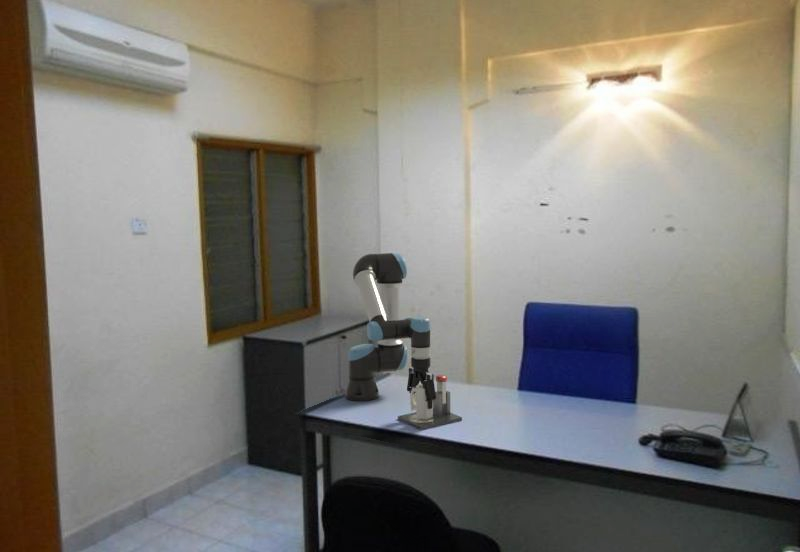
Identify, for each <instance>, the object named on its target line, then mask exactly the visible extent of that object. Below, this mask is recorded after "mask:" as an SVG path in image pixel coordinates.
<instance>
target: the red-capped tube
mask: <svg viewBox="0 0 800 552" xmlns="http://www.w3.org/2000/svg"><path fill="white" fill-rule="evenodd" d="M447 381H448V376H447V375H445V374H444V375H443V374H440V375H436V376H435V382H436V392H438V393H441V394H442V404H444V403H446V391H447Z"/></svg>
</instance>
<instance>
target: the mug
mask: <svg viewBox="0 0 800 552" xmlns="http://www.w3.org/2000/svg"><path fill="white" fill-rule="evenodd" d="M414 392H416V404H415V402H414V400H413V393H414ZM409 394H410V393H409ZM410 399H411V400H410V404H411V403H412V406H413V407H414V408H416V409H417V410H416V412H417V417H418V418H421V419H428V418H431V417H432V416H433V407H432V416H430V417H425V400H426V396H425V389H423V385H422V384H421V383H420V384H419V385H417V386H416V388H414V387H412V391H411V394H410ZM432 406H433V401H432Z"/></svg>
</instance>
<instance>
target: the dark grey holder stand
mask: <svg viewBox="0 0 800 552" xmlns="http://www.w3.org/2000/svg"><path fill="white" fill-rule="evenodd" d="M435 393H436V399H435V400H433V416H432V417H431V418H428V419H421V418H418V417H417V411H415V412H411V413H406V414H401V415H398V416H397V420H399V421H401V422H403V423H405V424H407V425H409V426H411V427H413V428H415V429H417V430H419V431H423V430H428V429H431V428H436V427H441V426H444V425H449V424H452V423H453V424H454V423H456V422H460V421H463V417H461V416H459V415H458V414H455V413H453V412H451V392H450V391H448V390H446V403H444V404H442V394H441V393H438V392H437V391H435Z"/></svg>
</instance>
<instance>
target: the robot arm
mask: <svg viewBox="0 0 800 552" xmlns="http://www.w3.org/2000/svg"><path fill="white" fill-rule="evenodd" d="M407 268H408V267H407V264H406V261H405V258H404V256H403V255H402V254H401V253H393V252H388V253H368V254H365V255H363V256H361V257H360V258H359V259H358V260H357V261H356V263H355V265H354V267H353V271H352V277H353V281H354V284H355V285H356V286H358V290H359V293H360V296H361V299H362V301H363V306H364V308H365V309H364V310H365V312H366V315H367V318H368V321H369V322H367V324H366V336H367V338H368V340H370V341H377V346H375V345H374V344H373V343H362V344H358V345H357V344H356V345H354V346H352V347H351V348H350V349H348V358H347V360H348V383H347V385H346V389H345V398H346V400H349V401H355V402H366V401H373V400H375V399H377V398H379V396H380V395H379V394H380V391H379V388H378V386H377V382H376V378H375V376H376V375H375V373H385V372H386V373H387V372H388V373H389V372H397V371H401V370H404V368H406V366H407V362H408V355H409V353H408V348H407V346H406V345H405V344H404V341H403V340H402V339H410V350H411V354H410V355H411V359H410V363H411V366H410V368H408V380H407V386H406V391H407V392H409V393H408V394H411V391H412V387H414V388H416V386H417V385H421V384H422V385H423V389H425V396H426V400H425V417H430V416H432V407H433V406H432V401H433V400H435V399H436V393H435V392H436V388H435V382H434V380H435V379H434V376H435V375H434V373H430V372H429V368H430V367H431V320H430V318H428V317H423V316H416V317H406V318H404V319H400V286H401V285H402V284H403V280H404V279H406V277H407V274H408V272H407V271H408V269H407ZM377 285H378V286H379V288H378V286H377ZM379 289H380V291H379ZM413 400H414V402H415V404H416V392H414V393H413ZM410 401H411V399H410ZM410 411H417V409H416V408H414V407H413V406H412V403H411V402H410Z"/></svg>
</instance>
